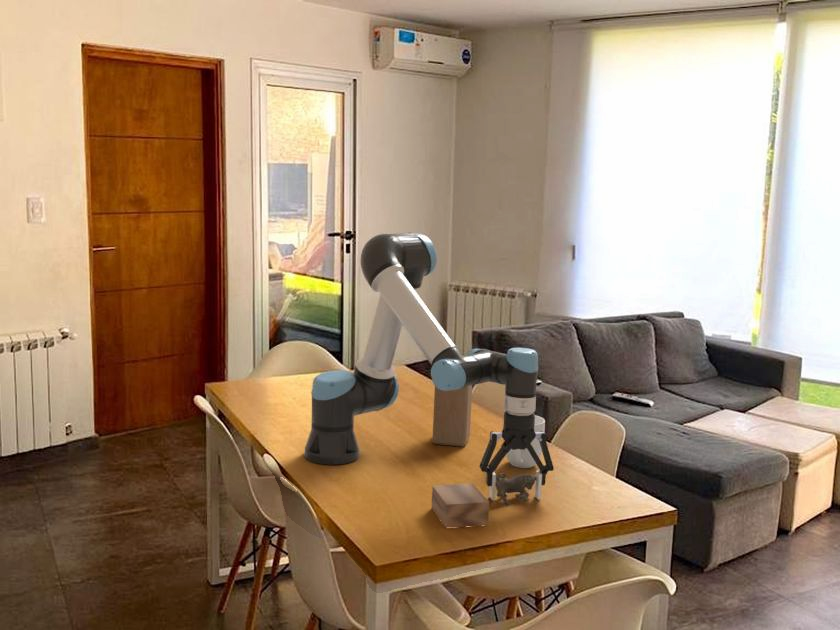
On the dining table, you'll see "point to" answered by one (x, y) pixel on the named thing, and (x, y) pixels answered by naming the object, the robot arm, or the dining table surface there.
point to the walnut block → (460, 505)
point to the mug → (523, 456)
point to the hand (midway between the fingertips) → (514, 497)
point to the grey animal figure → (514, 486)
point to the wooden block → (452, 416)
